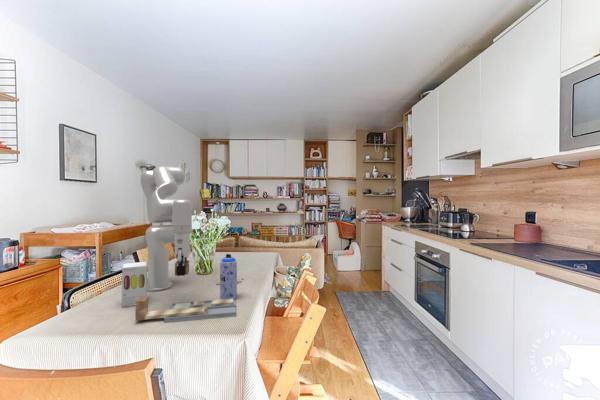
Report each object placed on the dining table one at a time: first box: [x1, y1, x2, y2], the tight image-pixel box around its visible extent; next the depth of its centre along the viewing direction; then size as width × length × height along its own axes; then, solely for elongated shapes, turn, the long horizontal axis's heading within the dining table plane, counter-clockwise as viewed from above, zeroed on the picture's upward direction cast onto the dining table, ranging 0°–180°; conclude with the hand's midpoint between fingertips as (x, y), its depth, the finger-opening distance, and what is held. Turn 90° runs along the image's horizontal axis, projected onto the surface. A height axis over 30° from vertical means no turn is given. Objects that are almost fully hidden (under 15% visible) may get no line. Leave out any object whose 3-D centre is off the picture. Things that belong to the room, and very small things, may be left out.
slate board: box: [163, 298, 237, 324], centre depth 118 cm, size 26×16×1 cm, turn 103°
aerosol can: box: [219, 253, 238, 300], centre depth 134 cm, size 8×8×20 cm
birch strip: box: [134, 295, 208, 322], centre depth 112 cm, size 25×5×7 cm, turn 103°
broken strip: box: [193, 299, 233, 308], centre depth 123 cm, size 16×5×1 cm, turn 103°
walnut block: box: [174, 259, 190, 276], centre depth 120 cm, size 5×5×5 cm
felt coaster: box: [173, 302, 191, 310], centre depth 120 cm, size 6×6×1 cm
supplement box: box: [121, 261, 148, 308], centre depth 127 cm, size 10×9×17 cm
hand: (182, 273), depth 120 cm, fingers closed on walnut block, 4 cm apart
